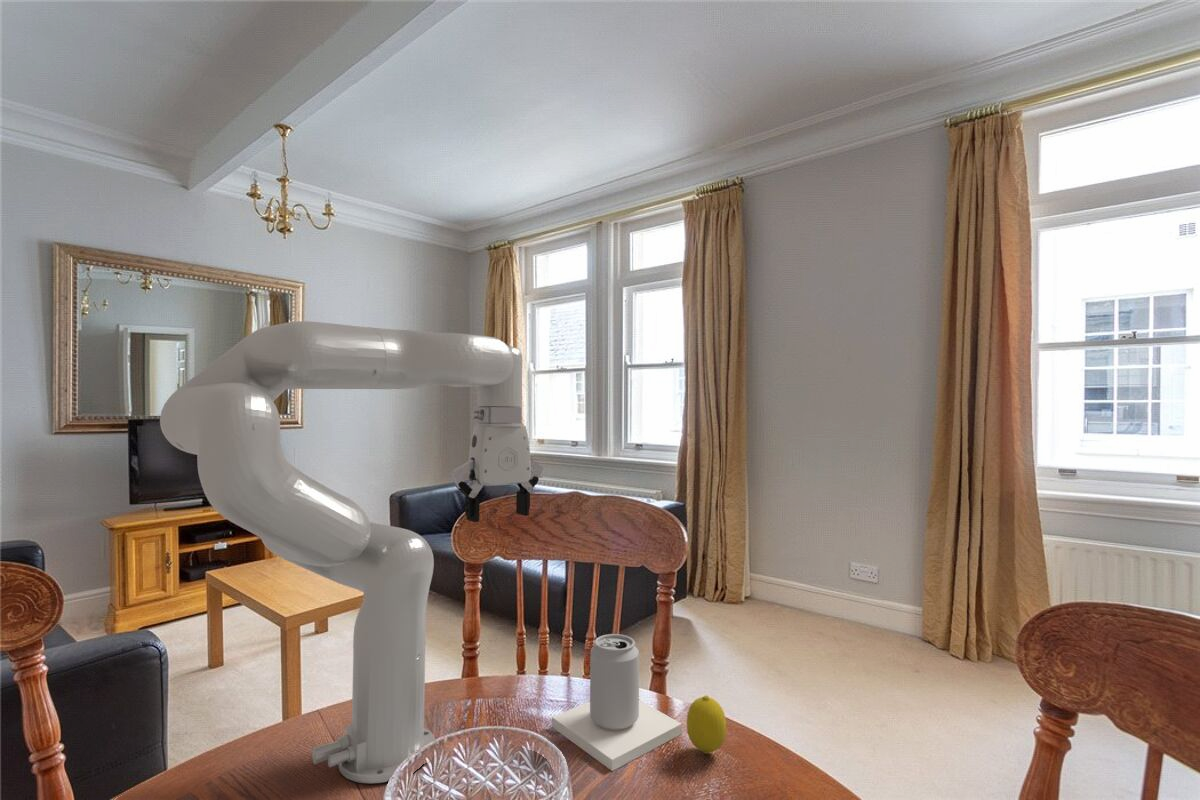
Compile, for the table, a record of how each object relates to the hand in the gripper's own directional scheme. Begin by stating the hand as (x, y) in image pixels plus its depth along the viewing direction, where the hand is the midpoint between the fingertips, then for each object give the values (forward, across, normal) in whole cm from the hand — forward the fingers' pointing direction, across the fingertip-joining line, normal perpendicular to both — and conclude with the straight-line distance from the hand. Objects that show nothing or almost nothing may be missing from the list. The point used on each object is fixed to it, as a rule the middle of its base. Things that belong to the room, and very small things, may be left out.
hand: (498, 517), depth 96 cm
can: (+29, +9, -20) cm, 36 cm away
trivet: (+30, +9, -20) cm, 38 cm away
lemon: (+31, +15, -33) cm, 47 cm away
